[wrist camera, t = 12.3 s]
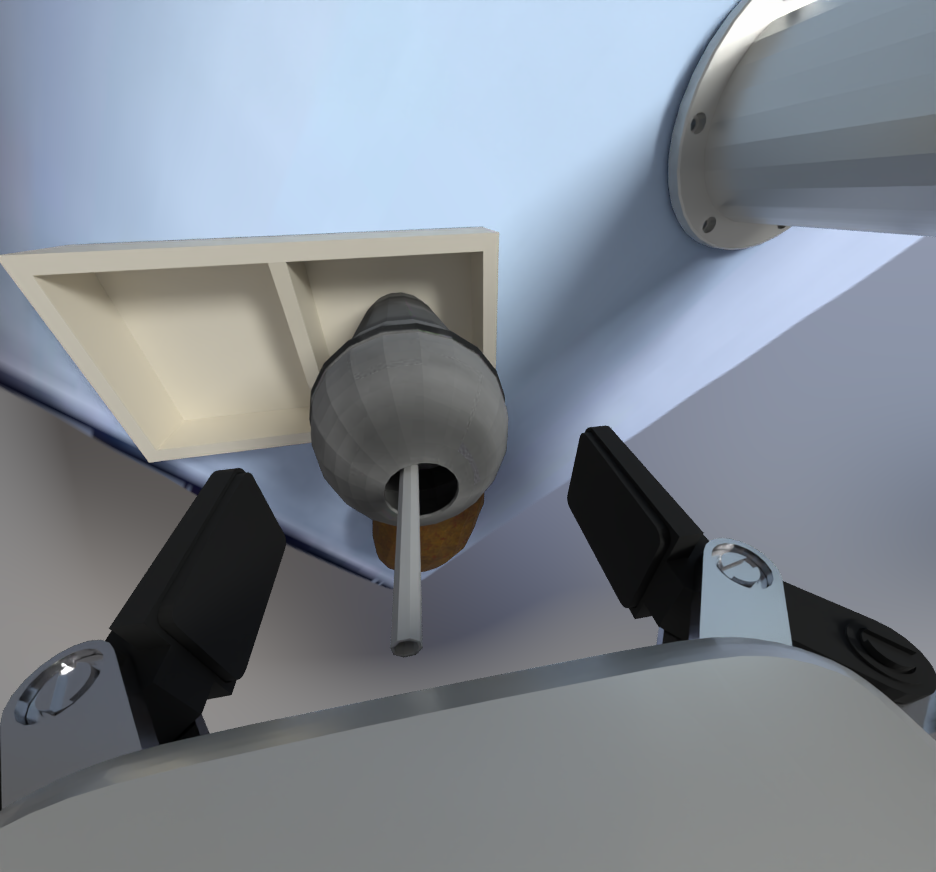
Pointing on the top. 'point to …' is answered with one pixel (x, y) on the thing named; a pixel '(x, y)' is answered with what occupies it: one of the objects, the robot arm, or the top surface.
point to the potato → (430, 538)
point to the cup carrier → (242, 322)
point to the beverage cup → (408, 433)
